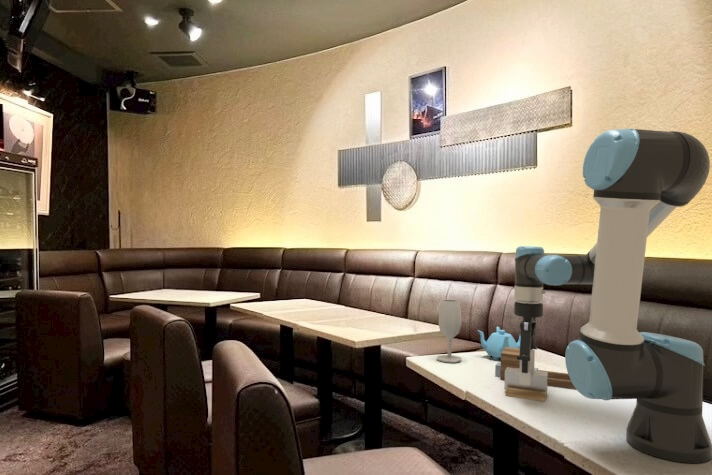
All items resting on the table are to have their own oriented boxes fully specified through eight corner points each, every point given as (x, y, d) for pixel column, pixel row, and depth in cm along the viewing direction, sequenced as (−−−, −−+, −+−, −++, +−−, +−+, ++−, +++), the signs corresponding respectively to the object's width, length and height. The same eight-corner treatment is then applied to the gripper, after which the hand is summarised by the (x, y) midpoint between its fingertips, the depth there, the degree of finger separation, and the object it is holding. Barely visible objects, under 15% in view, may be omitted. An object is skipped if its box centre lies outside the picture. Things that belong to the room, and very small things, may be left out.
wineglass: (465, 359, 173) (466, 300, 173) (456, 364, 166) (457, 302, 166) (442, 356, 178) (443, 298, 178) (432, 360, 171) (433, 300, 171)
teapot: (497, 352, 186) (497, 325, 186) (528, 359, 175) (529, 331, 175) (475, 357, 178) (476, 329, 178) (507, 364, 167) (507, 335, 167)
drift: (537, 380, 150) (538, 368, 150) (535, 383, 147) (535, 370, 147) (498, 374, 156) (498, 362, 156) (495, 377, 153) (495, 365, 153)
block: (547, 389, 137) (547, 371, 137) (546, 395, 132) (547, 376, 132) (506, 384, 141) (506, 367, 141) (504, 389, 137) (504, 371, 137)
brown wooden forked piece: (589, 391, 139) (590, 363, 139) (500, 379, 149) (500, 353, 149) (588, 382, 149) (589, 355, 148) (504, 371, 159) (505, 346, 159)
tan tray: (544, 401, 130) (545, 393, 130) (505, 395, 134) (505, 388, 134) (546, 390, 139) (547, 383, 139) (510, 385, 143) (510, 378, 143)
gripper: (539, 308, 124) (538, 392, 124) (545, 297, 147) (544, 369, 147) (509, 306, 127) (507, 388, 127) (519, 296, 150) (517, 365, 150)
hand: (527, 378), depth 137 cm, fingers open, 13 cm apart
